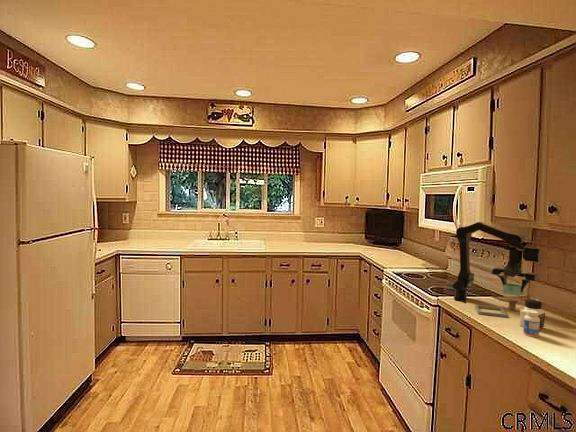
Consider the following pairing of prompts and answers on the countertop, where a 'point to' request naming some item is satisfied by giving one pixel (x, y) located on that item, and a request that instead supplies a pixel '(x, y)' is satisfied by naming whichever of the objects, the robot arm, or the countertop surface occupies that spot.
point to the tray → (490, 312)
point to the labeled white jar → (535, 306)
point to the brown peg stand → (512, 307)
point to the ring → (512, 289)
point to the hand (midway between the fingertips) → (513, 291)
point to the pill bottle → (531, 323)
